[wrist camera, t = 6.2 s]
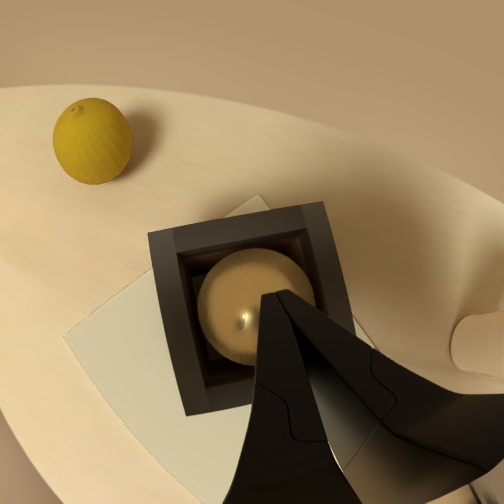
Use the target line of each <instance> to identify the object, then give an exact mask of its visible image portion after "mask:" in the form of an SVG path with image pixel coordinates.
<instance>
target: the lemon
mask: <svg viewBox="0 0 504 504" xmlns="http://www.w3.org/2000/svg"><path fill="white" fill-rule="evenodd" d="M53 146H54V150H55V154H56V157H57V159H58V161H59V163H60V165H61V166H62V168H63V169H64V170H65V172H66V173H67V174H68V175H70V176H71V177H72V178H74V179H75V180H77V181H79V182H81V183H85V184H89V185H99V184H103V183H106V182H108V181H110V180H112V179H114V178H115V177H117V176H118V175H119V174H120V173H121V172H122V171H123V170H124V168H125V167H126V165H127V163H128V161H129V159H130V156H131V152H132V134H131V131H130V127H129V124H128V122H127V120H126V119H125V117H124V116H123V115H122V113H121V112H120V111H119V110H118V109H117V108H116V107H115V106H114V105H113V104H111V103H110V102H108V101H106V100H103V99H99V98H86V99H82V100H80V101H77V102H75V103H73V104H72V105H70V106H69V107H68V108H67V109H66V110H65V111H64V112H63V113H62V114H61V115H60V117H59V119H58V121H57V123H56V125H55V128H54V132H53Z"/></svg>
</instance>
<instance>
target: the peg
mask: <svg viewBox="0 0 504 504" xmlns="http://www.w3.org/2000/svg"><path fill="white" fill-rule="evenodd" d="M283 289H289V290H291V291H292V292H294V293H295V294H297V295H298V296H299V297H301V298H302V299H304V300H305V301H307V302H308V303H310V304H311V305H312V306H314V307H315V297H314V292H313V289H312V286H311V284H310V282H309V280H308V278H307V276H306V275H305V273H304V272H303V271H302V269H301V268H300V267H299V266H298V265H297V264H296V263H295V262H294V261H292V260H291V259H290V258H288V257H286V256H285V255H283V254H281V253H278V252H276V251H272V250H268V249H261V248H251V249H244V250H241V251H237V252H235V253H232V254H230V255H228V256H227V257H225V258H223V259H222V260H221V261H219V262H218V263H217V264H216V265H215V266H214V267H213V268H212V269H211V270H210V272H209V273H208V274H207V276H206V278H205V280H204V281H203V284H202V286H201V289H200V293H199V297H198V317H199V321H200V325H201V328H202V330H203V332H204V335H205V336H206V338H207V340H208V341H209V342H210V344H211V345H212V346H213V347H214V348H215V349H216V350H217V351H218V352H219V353H220V354H222V355H223V356H225V357H226V358H228V359H230V360H232V361H234V362H237V363H240V364H244V365H249V366H255V365H256V352H257V340H258V327H259V314H260V301H261V295H262V294H265V293H270V292H274V293H275V292H276V291H279V290H283Z"/></svg>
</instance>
